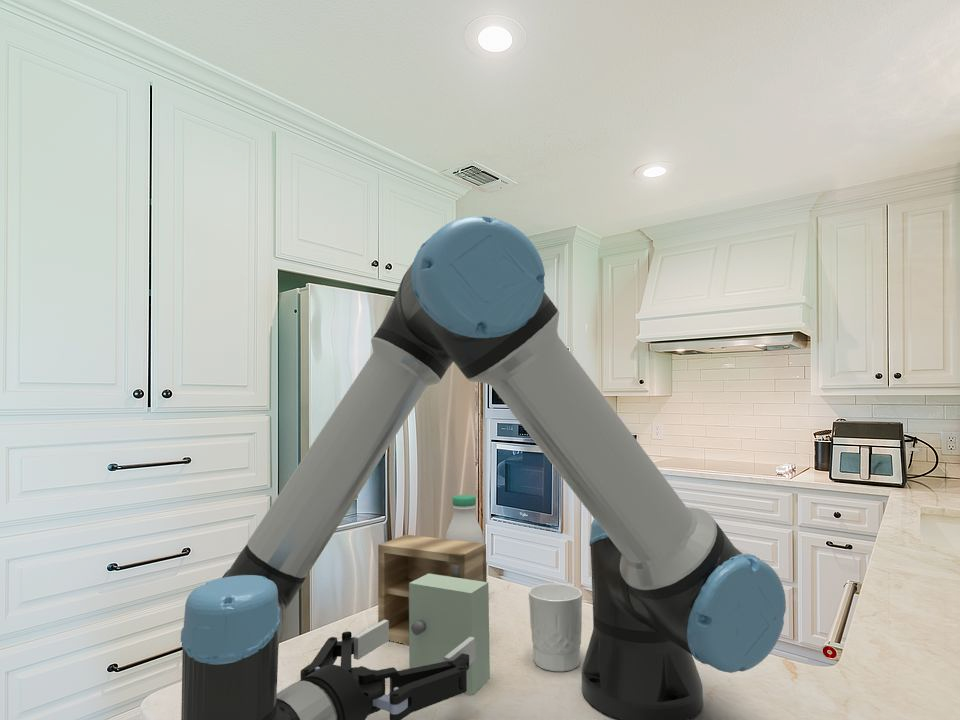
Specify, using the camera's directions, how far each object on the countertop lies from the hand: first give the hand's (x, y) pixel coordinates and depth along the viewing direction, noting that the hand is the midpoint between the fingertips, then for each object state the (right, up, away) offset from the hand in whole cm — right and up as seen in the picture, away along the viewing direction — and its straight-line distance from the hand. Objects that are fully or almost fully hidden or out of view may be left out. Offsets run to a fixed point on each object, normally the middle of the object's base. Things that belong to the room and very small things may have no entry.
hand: (428, 638), depth 74 cm
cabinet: (-1, -8, +17) cm, 19 cm away
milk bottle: (+4, -10, +34) cm, 36 cm away
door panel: (+3, -7, +3) cm, 8 cm away
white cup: (+18, -7, +8) cm, 21 cm away
